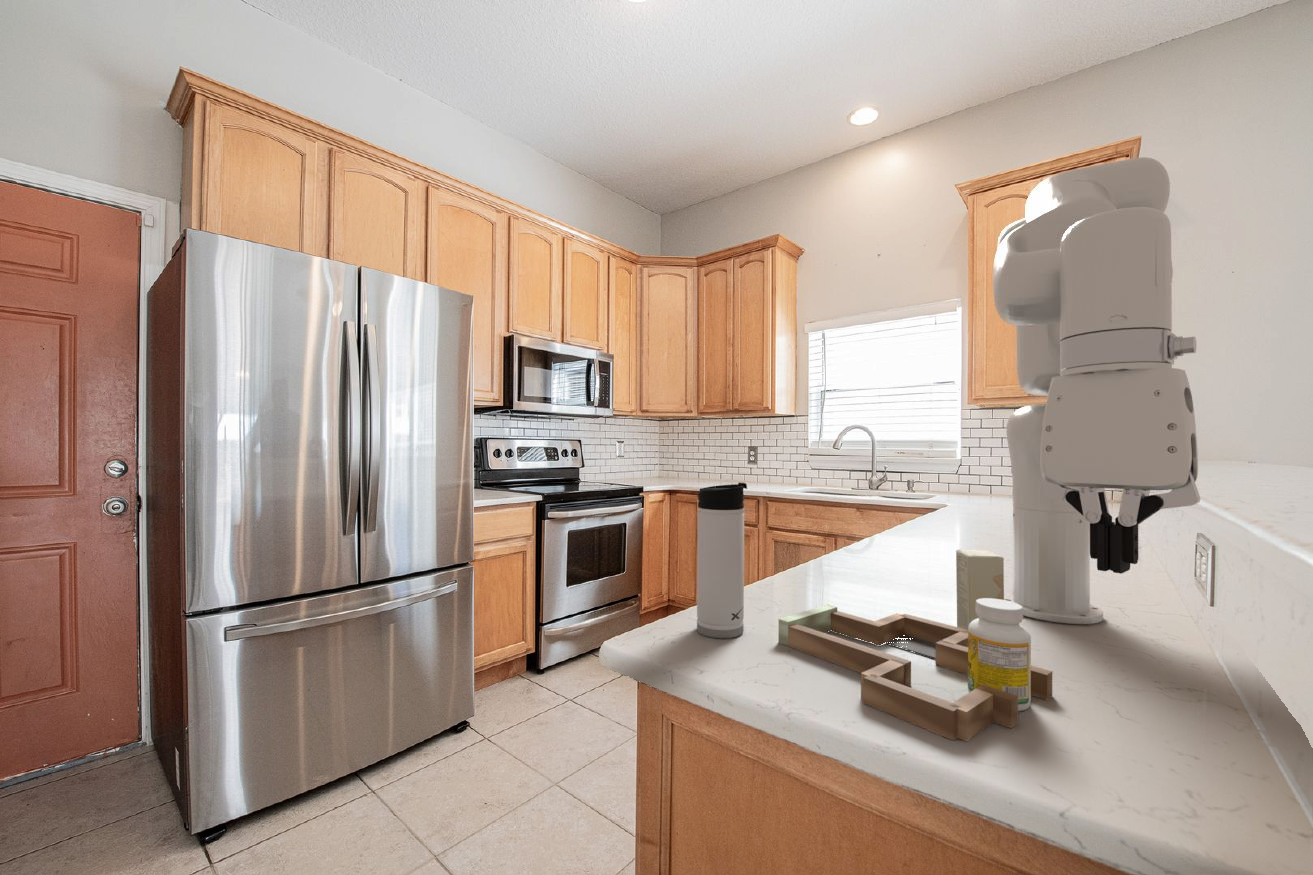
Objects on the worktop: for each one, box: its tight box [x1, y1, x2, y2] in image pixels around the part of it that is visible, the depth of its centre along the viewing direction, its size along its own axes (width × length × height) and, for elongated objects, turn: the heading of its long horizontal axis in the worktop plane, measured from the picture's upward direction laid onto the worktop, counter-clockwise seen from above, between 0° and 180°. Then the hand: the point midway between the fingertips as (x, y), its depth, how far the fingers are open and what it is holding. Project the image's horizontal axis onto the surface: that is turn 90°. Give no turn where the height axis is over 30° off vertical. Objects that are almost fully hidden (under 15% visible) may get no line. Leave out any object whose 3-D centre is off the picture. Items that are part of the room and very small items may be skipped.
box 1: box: [778, 604, 1053, 742], centre depth 63 cm, size 23×26×3 cm
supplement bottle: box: [967, 598, 1032, 712], centre depth 55 cm, size 5×5×10 cm
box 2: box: [955, 549, 1005, 630], centre depth 73 cm, size 5×4×11 cm
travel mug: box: [696, 482, 748, 640], centre depth 75 cm, size 6×7×20 cm
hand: (1113, 569), depth 48 cm, fingers closed
